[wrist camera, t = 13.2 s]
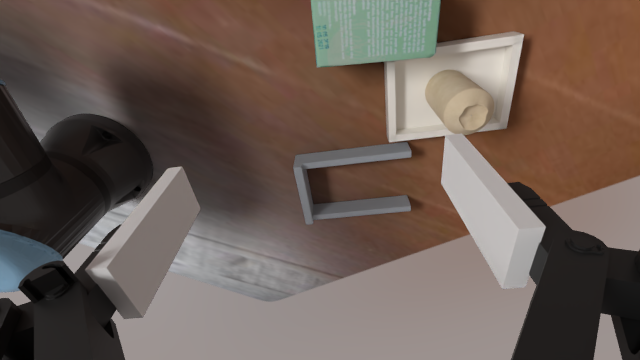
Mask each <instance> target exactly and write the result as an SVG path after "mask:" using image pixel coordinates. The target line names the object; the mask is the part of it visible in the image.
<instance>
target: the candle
mask: <svg viewBox="0 0 640 360" xmlns="http://www.w3.org/2000/svg"><path fill="white" fill-rule="evenodd" d="M425 97H426V101H427V103H428V104H429V106H430V107H431V108H432V110H433V111H434V112H435V113H436V115H437V116H438V117H439V119H440V120H441V121H442V122H443V124H444V125H445V126H446V128H447V129H448V130H449V131H450V132H452V133H454V134H460V133H462V134H463V135H468V134H472V133H475V132H477V131H479V130H480V129H482V128H483V127H484V126H485V125H486V124H487V123H488V122H489V121H490V119H491V117H492V115H493V112H494V100H493V98H492V96H491V95H490V94H489V93H488V92H487V91H485V90H484V89H483V88H481V87H480V86H479V85H477V84H476V83H474V82H473V81H472V80H470V79H469V78H468V77H466V76H465V75H463V74H462V73H460V72H459V71H456V70H443V71H441V72H439V73H437V74H435V75H434V76H433V77H432V78H431V79H430V80H429V82H428V84H427V86H426V89H425Z"/></svg>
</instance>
